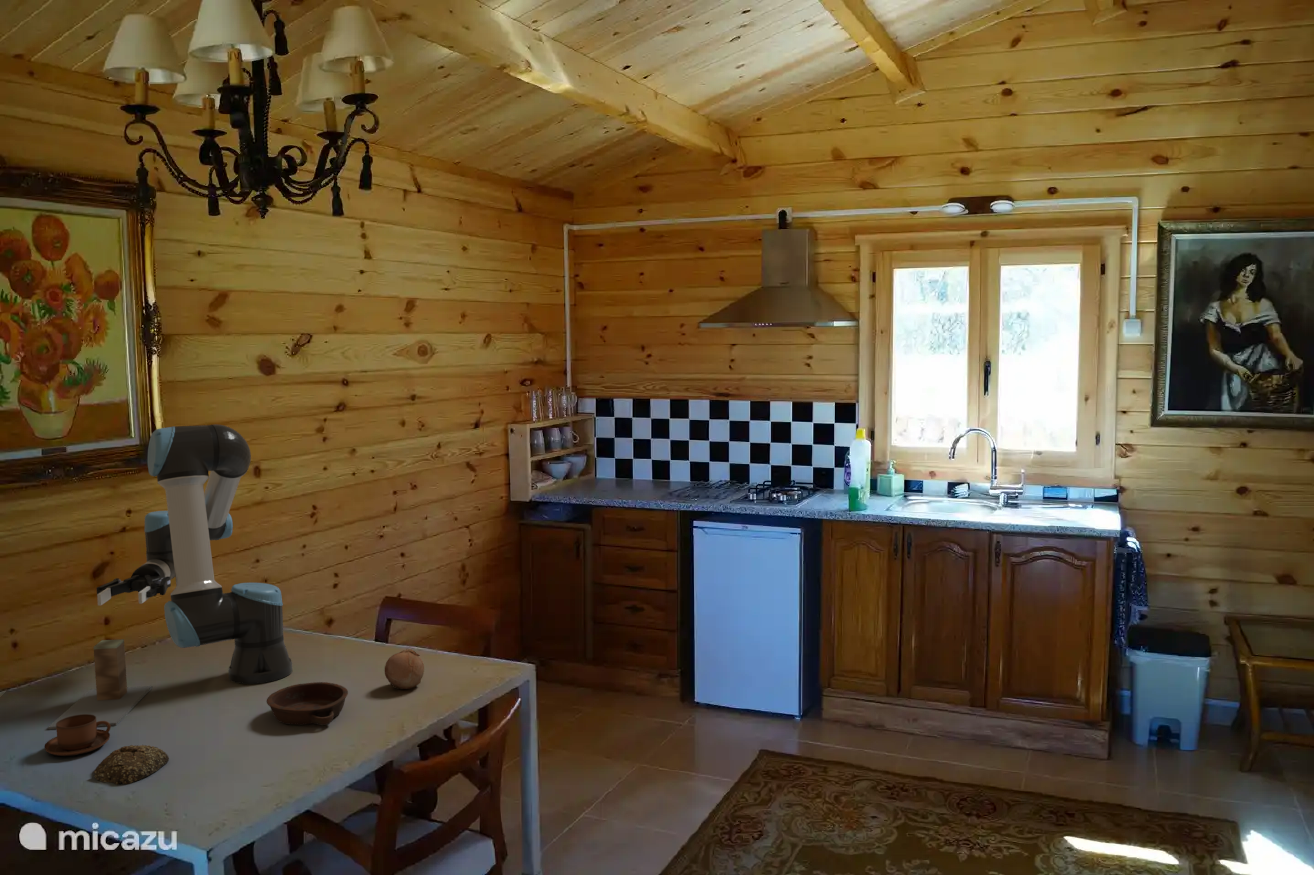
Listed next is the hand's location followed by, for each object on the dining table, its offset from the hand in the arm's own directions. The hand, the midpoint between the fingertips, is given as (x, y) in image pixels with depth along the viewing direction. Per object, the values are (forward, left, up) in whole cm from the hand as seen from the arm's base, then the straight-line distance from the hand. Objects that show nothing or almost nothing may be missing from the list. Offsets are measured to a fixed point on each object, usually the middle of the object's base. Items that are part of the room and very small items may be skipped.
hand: (119, 599), depth 249 cm
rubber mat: (-7, +13, -22) cm, 26 cm away
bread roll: (-41, +35, -23) cm, 59 cm away
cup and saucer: (-22, +31, -22) cm, 44 cm away
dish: (-55, -1, -22) cm, 60 cm away
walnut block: (-4, +7, -21) cm, 23 cm away
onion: (-65, -24, -22) cm, 73 cm away
